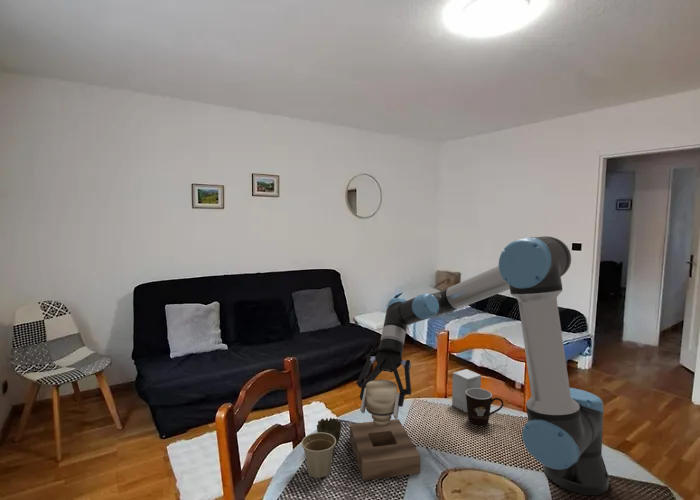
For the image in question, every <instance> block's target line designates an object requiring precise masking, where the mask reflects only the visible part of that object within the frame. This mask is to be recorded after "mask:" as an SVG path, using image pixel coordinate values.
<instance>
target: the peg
mask: <svg viewBox="0 0 700 500" xmlns="http://www.w3.org/2000/svg"><path fill="white" fill-rule="evenodd" d="M397 392H398V384H397V383H395V382H393V381H391V380H390V379H389V380H387V379H375V380H373V381H370V382H368V383H367V384H366V409H365V411H367V412H368V413H369V414H371V419H372V422H373V423H374V424H375V425H376V426H380V427H384V426H388V425H389V424H390V420H392V418H393V417H392V416H393V413H394V407H395V401H396V395H397Z"/></svg>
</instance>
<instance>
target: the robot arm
mask: <svg viewBox="0 0 700 500" xmlns="http://www.w3.org/2000/svg"><path fill="white" fill-rule="evenodd" d="M498 259H499V260H498V265H497V266H495V267H492V268H490V269H488V270H486V271H483V272H481V273H479V274H477V275H475V276H473V277H470V278H467V279H465V280H463V281H461V282H459V283H457V284H453V285H451V286H450V287H447V288H445V289H443V290H440V291H438V292H434V293H429V292H426V293H421V294H419V295H417V296H415V297H413V298H411V299H408V300H407V299H405V298H403V297H398V298H397V297H393V298H391V299H390V300H389V301H388V304H387V308H386V310H385V318H384V321H383V326H382V327H383V328H382V332H381V336H380V341H379V345H378V349H377V350H378V352H377V354H376V355H375V356H371V355H370V354H367V355H366V361H365V364H364V366H363V367H362V370H361V372H360V373H359V377H358V378H357V380H356V385H357V386H358V388H360V389H361V390H360V392H359V393H360V394H359V400H360V401H361V405H360V409H359V410H360V412H361V414H365V413H366V384H367V383H368V382H370V381H373V380H377V377H378V376H379V375H380V374H381V373H382V372H388V373H393V374H394V378H395V381H396V385H397V389H398V391H399V392H398V391H397V395H396V401H395V407H394V413H393V414H392V416H393V418H394V419H399V418H398V417H399V410H400V407H401V408H402V407H403V406H404V403H405V401H404V400H405V396H407V395H409V396H411V395H412V383H411V372H410V370H411V366H412V365H411V361H410V359H405V360H404V359H402V358H403V352H404V345H405V339H406V334H407V327H408V326H410V325H413V324H416V323H418V322H422V321H425V320H428V319H431V318H436V317H439V316H442V315H443V316H444V315H445V314H446V315H448V314H450V313H454V312H455V311H457V310H459V309H461V308H464V307H466V306H470V305H473V304H475V303H476V302H479V301H482V300H485V299H487V298H490V297H493V296H496V295H497V294H501V293H503V292H506V291H508V290H509V292H510V295H511V296H512V297H514V298H515V299H516V300H517V302H518V308H519V314H520V315H519V316H520V322H521V328H522V329H521V330H522V338H523V344H524V351H525V359H526V365H527V373H528V380H529V386H530V387H529V388H530V395H531V396H530V397H529V399H528V400H526V402H525V407H526V413H527V414H526V415H527V420H528V421H527V422H526V423H525V424H524V426H523V428H522V431H521V432H522V433H521V438H522V442H523V445H524V447H525V448H526V450H527V452H528V453H529V454H530V455H531V456H533V458H534V459H535V460H536V461H537V462H538V463H540V464H541V465H543V466H542V469H543V472H544V475H545V476H546V477H547V478H548V479H549V480H550V481H551V482H552V483H554V484H556V485H557V486H559V487H560V488H562V489H564V490H567V491H569V492H572V493H576V494H579V495H584V496H598V495H602V494H604V493H606V492H607V491H608V490H609V485H610V484H609V482H610V477H609V473H608V471H607V467H606V464H605V461H604V458H603V455H602V454H603V453H602V450H603V430H604V429H603V427H604V413H605V410H604V401H603V399H601V398H600V397H599V396H598V395H595V394H594V393H591V392H589V391H586V390H583V389H578V388H575V387H570V382H569V375H568V369H567V368H568V367H567V361H566V355H565V348H564V339H563V333H562V326H561V319H560V313H559V307H558V305H559V304H558V299H557V298H558V296H559V295H560V294H561V293H562V292H563V282H562V276H564V275H565V274H566V273H567V272H568V270H569V269H570V267H571V264H572V253H571V252H570V248H568V245H566V244H565V242H564V241H562V240H560V239H559V238H556V237H553V236H546V235H545V236H535V237H534V236H531V237H530V236H529V237H527V236H526V237H523V238H522V237H521V238H519V239H516V240H513V241H512V242H510V243H508V244H507V245H506V246H505V247H504V248H503V250H502V251H501V254H500V256H499V257H498ZM375 362H376V365H375V366H374V369H372V371H371V372H370V370H371V367H372V365H374V363H375ZM401 365H402V367H403V369H404V378H405V379H404V380H405V388H404V386H403V383H402V381H401V377H400V374H399V371H398V368H399V367H401ZM369 373H370V374H369ZM368 374H369V375H368Z"/></svg>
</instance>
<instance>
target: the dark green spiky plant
mask: <svg viewBox="0 0 700 500" xmlns="http://www.w3.org/2000/svg"><path fill="white" fill-rule="evenodd" d="M341 421H342V420H339V419H338V418H337V419H335V418H334V417H333V418H332V417H330V418H329V419H328V417H326V418H325V419H324V418H321V419H320V420H318V421H317V424H316V431H317V432H316V433H318V432H322V433H329V434H331V435H333V436H334V437H335V439H336V444H335V446H334V449H333V451H334V450H335V449H336V446H337V444H338V443H339V442H340V438H341V431H342V422H341Z"/></svg>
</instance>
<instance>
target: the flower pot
mask: <svg viewBox="0 0 700 500" xmlns="http://www.w3.org/2000/svg"><path fill="white" fill-rule="evenodd" d="M335 444H336V439H335V437H334V436H333V435H331V434H329V433H322V432H314V433H309V434H308V435H306V436H304V437H303V438H302V440H301V447H302V448H303V451H304V454H305V460H306V466H307V468H306V469H307V472H308V475H309V476H310V477H312V478H313V479H321V478H323V477H324V478H325V477H328V476H329V475H330V473H331V469H332V464H333V463H332V462H333V454H334V450H335V449H334V446H335V447H336V445H337V444H336V445H335ZM333 449H334V450H333Z"/></svg>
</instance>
